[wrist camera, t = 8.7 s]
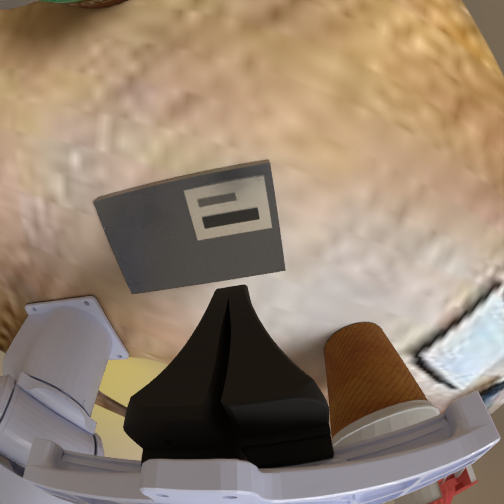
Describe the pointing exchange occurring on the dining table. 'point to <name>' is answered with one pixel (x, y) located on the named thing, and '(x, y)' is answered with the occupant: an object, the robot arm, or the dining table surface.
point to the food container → (84, 0)
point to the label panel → (195, 228)
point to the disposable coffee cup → (370, 386)
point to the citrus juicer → (441, 489)
